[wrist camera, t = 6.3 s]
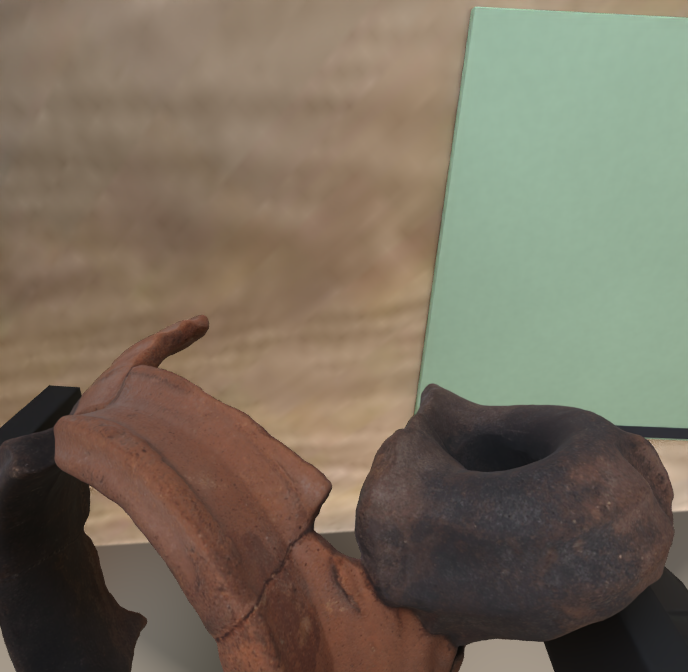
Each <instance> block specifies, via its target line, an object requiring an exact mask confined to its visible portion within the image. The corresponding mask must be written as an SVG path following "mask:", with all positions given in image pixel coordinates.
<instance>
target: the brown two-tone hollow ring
mask: <svg viewBox="0 0 688 672" xmlns="http://www.w3.org/2000/svg"><path fill="white" fill-rule="evenodd" d="M208 329H209V321H208V319H207V317H206V316H205V315H198V316H195V317H193V318H190V319H188V320H182V321H179V322H177V323H175V324H172V325H170V326H168V327H166V328H164V329H163V330H161V331H159V332H157V333H156V334H153V335H151V336H148V337H147V338H144V339H142V340H140V341H139V342H137V343H135V344H134V345H132V346H131V347H129V348H128V349H127V350H125V351H124V352H123V353H122V354H121V355H120V356H119V357H118V358H117V359H116V360H114V362H113V363H112V365H111V367H109V368H108V369H107V370H106V371H105V372H103V373H102V374H101V376H100V377H99V378H97V379H96V381H95V382H94V383H93V384H92V385H91V387H89V388H88V389H87V390H86V391H85V392H84V393H83V394H82V396H81V398H80V399H79V400H78V401H77V403H76V404H75V405H74V407H73V409H72V411H71V413H70V414H69V415H67V416H63V417H62V418H60V419H59V420H58V421H57V423H56V424H55V426H54V427H53V428H50V429H47V430H45V431H41V432H36V433H32V434H29V435H24V436H20V437H17V438H12V439H9V440H6V441H4V442H3V443H2V445H1V446H0V627H1V630H2V634H3V638H4V642H5V644H6V647H7V650H8V653H9V656H10V658H11V661H12V663H13V665H14V668H15V670H16V672H131V668H132V660H133V656H134V648H135V645H136V641H137V639H138V637H139V635H140V632H141V631H142V629H143V628H144V627H145V626H146V624H147V619H146V618H145V617H144V616H143V615H141V614H140V613H136V612H132V611H128V610H126V609H124V608H122V607H121V606H119V604H118V603H117V602H116V600H115V599H114V597H113V596H112V594H111V593H109V591H108V589H107V587H106V585H105V581H104V577H103V573H102V569H101V566H100V561H99V556H98V553H97V550H96V548H95V546H94V544H93V542H92V540H91V538H90V537H89V536H87V535H86V534H85V532H84V525H85V522H86V520H87V518H88V516H89V512H90V488H89V485H90V486H92V487H93V488H95V489H96V490H97V491H99V492H100V493H101V494H103V495H104V496H106V497H107V498H108V499H110V500H112V501H114V502H115V503H117V504H118V505H119V506H120V507H121V508H123V510H124V511H125V512H126V513H127V514H128V515H129V516H130V518H131V519H132V520H133V522H134V523H135V525H136V526H137V527H138V529H139V530H140V531H141V532H142V533H143V534H144V535H145V537H146V538H147V539H148V541H149V542H150V543H151V545H152V546H153V547H154V548H155V550H156V551H157V552H158V553H159V555H160V556H161V557H162V559H163V560H164V561H165V562H166V564H167V566H168V568H169V569H170V571H171V572H172V574H173V576H174V577H175V579H176V580H177V582H178V583H179V585H180V587H181V589H182V591H183V592H184V594H185V595H186V597H187V599H188V601H189V602H190V603H191V605H192V606H193V607H194V609H195V610H196V612H197V613H198V615H199V617H200V618H201V620H202V622H203V624H204V626H205V628H206V629H207V631H208V632H209V633H210V634H211V635H212V637H213V638H214V639H215V641H216V642H217V646H218V652H219V658H220V662H221V665H222V668H223V672H458V671H459V669H460V666H461V664H462V662H463V658H464V648H465V646H466V645H467V644H470V643H472V642H477V641H481V640H488V639H510V640H522V641H538V642H544V641H550V640H553V639H556V638H558V637H561V636H563V635H566V634H568V633H570V632H572V631H575V630H577V629H579V628H581V627H584V626H587V625H589V624H592V623H595V622H599V621H603V620H605V619H607V618H609V617H611V616H613V615H615V614H617V613H618V612H620V611H621V610H623V609H624V608H626V607H627V606H628V605H629V604H630V603H631V602H632V601H633V600H634V599H635V598H636V597H637V596H638V595H639V594H640V593H642V592H643V591H644V590H645V589H646V588H647V587H648V586H649V585H651V584H652V583H654V582H656V581H657V580H659V579H660V578H661V576H662V574H663V570H664V566H665V563H666V560H667V557H668V553H669V549H670V547H671V545H672V541H673V537H674V527H673V514H672V507H671V506H672V500H673V498H674V493H673V489H672V485H671V482H670V479H669V476H668V473H667V471H666V469H665V467H664V466H663V464H662V462H661V460H660V458H659V455H658V453H657V452H656V450H655V448H654V447H653V446H652V444H651V443H650V442H649V441H648V440H647V439H645V438H644V437H642V436H640V435H637V434H633V433H629V432H626V431H623V430H621V429H620V428H618V427H617V426H615V425H614V424H613V423H611V422H610V421H608V420H607V419H605V418H604V417H602V416H600V415H598V414H596V413H594V412H591V411H588V410H583V409H580V408H576V407H569V406H560V405H533V404H532V405H510V406H488V405H480V404H477V403H474V402H471V401H469V400H467V399H465V398H462V397H460V396H458V395H457V394H455V393H453V392H451V391H449V390H447V389H444V388H442V387H440V386H439V385H437V384H434V383H431V384H428V385H427V386H426V387H425V389H424V390H423V392H422V393H421V399H420V407H419V409H418V411H417V413H416V414H415V415H414V416H413V417H412V418H411V419H410V420H409V421H408V423H407V425H406V427H405V428H404V429H398V430H397V431H395V433H394V434H393V435H391V436H390V437H389V438H387V439H386V440H385V441H384V443H383V444H382V445H381V447H380V448H379V450H378V451H377V453H376V455H375V458H374V461H373V464H372V467H371V470H370V472H369V474H368V475H367V477H366V479H365V481H364V483H363V486H362V489H361V492H360V496H359V501H358V504H357V508H356V520H355V536H356V540H357V543H358V546H359V549H360V552H361V559H356V558H352V557H349V556H346V555H344V554H342V553H341V552H339V551H337V550H336V549H335V548H334V547H333V546H332V545H331V544H330V543H329V542H328V541H327V540H326V539H324V538H323V537H322V536H321V535H320V534H318V533H316V532H315V531H314V522H315V518H316V517H317V516H318V514H319V512H320V509H321V507H322V504H323V503H324V502H325V501H326V499H327V498H328V496H329V493H330V491H331V489H332V484H331V482H330V481H329V480H328V479H327V478H326V476H325V475H324V474H323V473H322V472H321V471H319V470H318V469H317V468H316V467H314V466H313V465H312V464H310V463H308V462H306V461H304V460H303V459H302V458H301V457H300V456H299V455H297V454H296V453H295V452H293V451H292V450H291V449H289V448H288V447H287V446H286V445H284V444H283V443H282V442H280V441H279V440H277V439H275V438H274V437H272V436H271V435H270V434H269V433H268V432H267V431H266V430H265V429H264V428H263V427H262V426H260V425H259V424H258V423H257V422H255V421H254V420H253V419H252V418H251V417H250V416H249V415H247V414H246V413H244V412H242V411H240V410H238V409H236V408H233V407H231V406H229V405H226V404H224V403H222V402H221V401H219V400H217V399H215V398H214V397H212V396H210V395H209V394H207V393H205V392H204V391H203V390H202V389H201V388H200V387H198V386H197V385H195V384H193V383H191V382H190V381H188V380H187V379H185V378H183V377H181V376H179V375H177V374H175V373H173V372H170V371H167V370H164V369H160V368H158V366H159V365H160V364H161V363H162V361H163V360H164V359H165V358H167V357H168V356H170V355H173V354H175V353H177V352H179V351H181V350H183V349H185V348H187V347H189V346H190V345H191V344H192V343H194V342H195V341H197V340H198V339H200V338H202V337H203V336H204V335H205V333H206V332H207V330H208Z"/></svg>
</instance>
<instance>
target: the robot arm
mask: <svg viewBox="0 0 688 672" xmlns="http://www.w3.org/2000/svg"><path fill="white" fill-rule="evenodd" d="M81 396H82V395H81V391H80V387H66V386H50V385H49V386H48V387H47V388H46V389H44V390H43V391H42V392H41V393H40V394H39V395H38V396H36V397H35V398H34V399H33V400H32V401H31V402H30V403H28V404H27V405H26V406H25V407H24V408H23V409H21V410H20V411H19V412H18V413H17V414H16V415H15V416H13V417H12V418H11V419H10V420H9V421H8V422H7V423H5V424H4V425H3V426H2V427H1V428H0V446H1V445H2V443H3V442H4V441H6V440H9V439H12V438H17V437H20V436H24V435H29V434H32V433H36V432H41V431H45V430H47V429H50V428H53V427H54V426H55V424H56V423H57V421H58V420H59V419H60V418H62V417H63V416H67V415H69V414H70V413H71V411H72V409H73V407H74V405H75V404H76V403H77V401H78V400H79V399H80V398H81ZM544 644H545V647H546V649H547V652H548V655H549V658H550V661H551V663H552V666H553V669H554V671H555V672H688V590H687V588H686V587H685V585H684V584H683V583H682V582H681V581H680V580H679V579H678V578H677V577H676V576H675V575H674V574H672V572H670V571H669V570H668V569H667V568H666V567H665V566H664V570H663V574H662V576H661V578H660V579H659V580H657V581H656V582H654V583H652V584H651V585H649V586H648V587H647V588H646V589H645V590H644V591H643V592H642V593H640V594H639V595H638V596H637V597H636V598H635V599H634V600H633V601H632V602H631V603H630V604H629V605H628V606H627V607H626V608H624V609H623V610H621V611H620V612H618V613H617V614H615V615H613V616H611V617H609V618H607V619H605V620H603V621H599V622H595V623H592V624H589V625H587V626H584V627H581V628H579V629H577V630H575V631H572V632H570V633H568V634H566V635H563V636H561V637H558V638H556V639H553V640H550V641H544Z"/></svg>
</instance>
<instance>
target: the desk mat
mask: <svg viewBox="0 0 688 672" xmlns="http://www.w3.org/2000/svg"><path fill="white" fill-rule="evenodd" d="M431 383H434V384H437V385H439V386H440V387H442V388H444V389H447V390H449V391H451V392H453V393H455V394H457V395H458V396H460V397H462V398H465V399H467V400H469V401H471V402H474V403H477V404H480V405H488V406H510V405H532V404H533V405H560V406H569V407H576V408H580V409H583V410H588V411H591V412H594V413H596V414H598V415H600V416H602V417H604V418H605V419H607V420H608V421H610V422H611V423H613V424H614V425H615V426H617V427H618V428H620V429H621V430H623V431H626V432H629V433H633V434H637V435H640V436H642V437H644V438H645V439H662V440H686V441H688V18H684V17H664V16H645V15H626V14H606V13H587V12H567V11H548V10H528V9H509V8H490V7H474V8H473V9H472V10H471V16H470V23H469V30H468V37H467V44H466V51H465V58H464V65H463V72H462V79H461V86H460V94H459V101H458V108H457V115H456V122H455V129H454V136H453V143H452V150H451V157H450V164H449V171H448V178H447V186H446V193H445V200H444V207H443V214H442V221H441V228H440V235H439V242H438V249H437V256H436V263H435V270H434V277H433V285H432V292H431V299H430V306H429V313H428V320H427V327H426V334H425V341H424V348H423V355H422V362H421V369H420V377H419V384H418V391H417V398H416V405H415V412H414V415H415V414H416V413H417V411H418V409H419V407H420V399H421V393H422V392H423V390H424V389H425V387H426V386H427V385H428V384H431Z"/></svg>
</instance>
